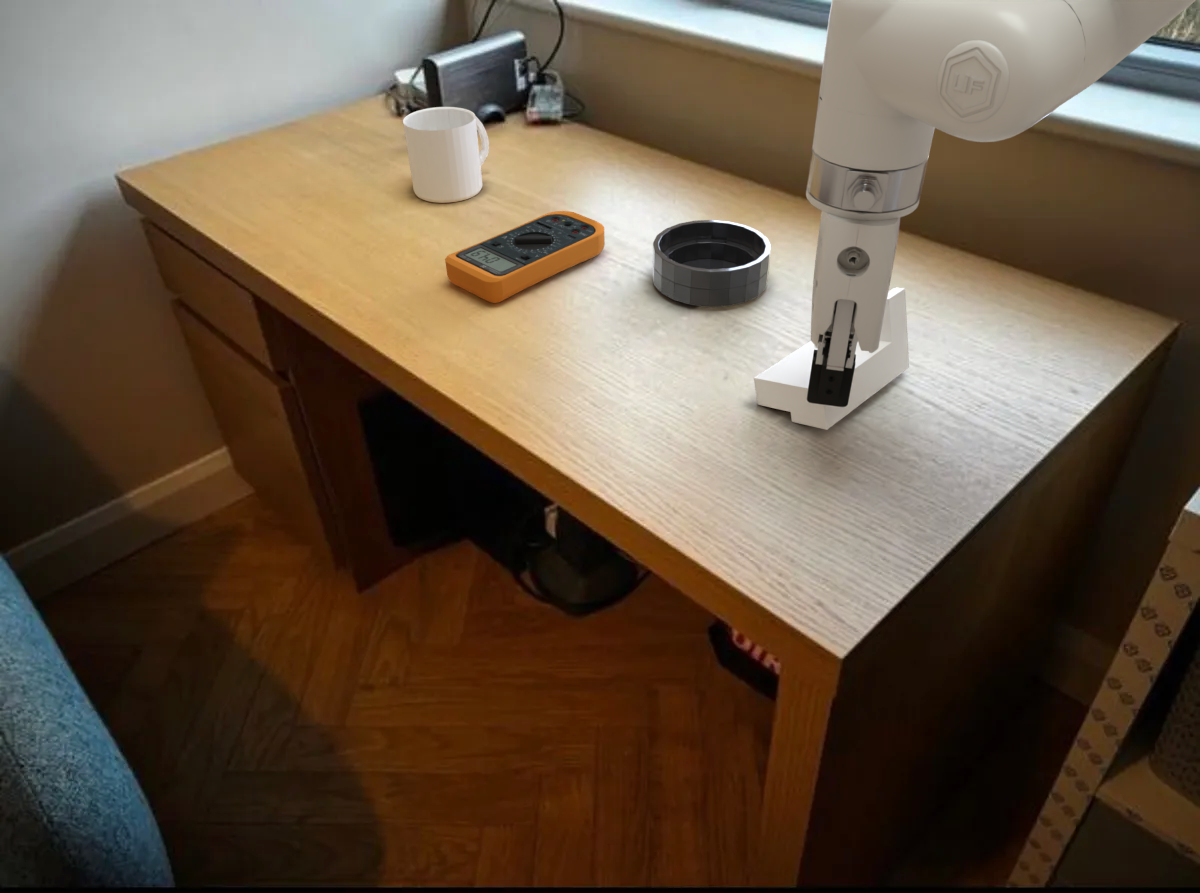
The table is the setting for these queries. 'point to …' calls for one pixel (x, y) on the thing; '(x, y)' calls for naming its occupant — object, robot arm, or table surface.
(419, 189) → the mug
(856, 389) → the bracket
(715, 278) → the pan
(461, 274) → the multimeter
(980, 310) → the table surface
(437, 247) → the table surface
